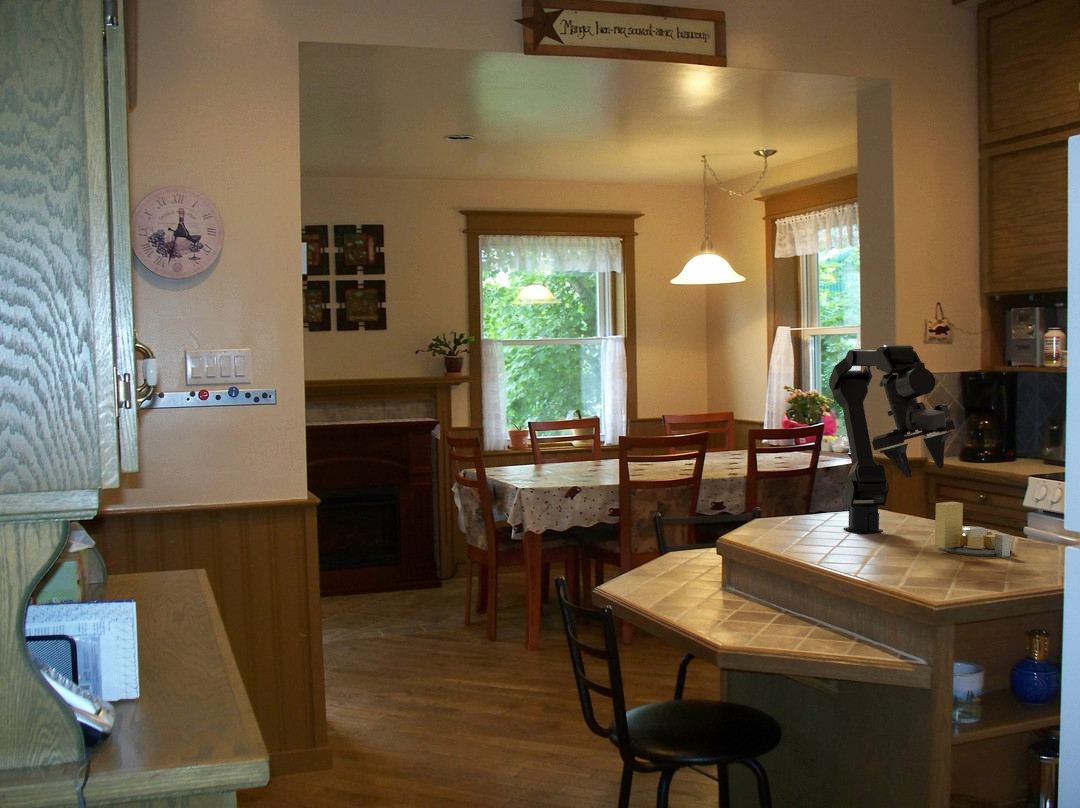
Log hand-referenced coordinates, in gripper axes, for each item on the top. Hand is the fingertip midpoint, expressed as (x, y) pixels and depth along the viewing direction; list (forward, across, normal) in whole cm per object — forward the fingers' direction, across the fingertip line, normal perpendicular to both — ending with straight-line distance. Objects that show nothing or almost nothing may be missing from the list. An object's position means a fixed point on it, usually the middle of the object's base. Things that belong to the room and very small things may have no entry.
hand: (925, 472), depth 218 cm
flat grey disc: (+18, +5, -2) cm, 19 cm away
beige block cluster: (+16, +3, -2) cm, 17 cm away
